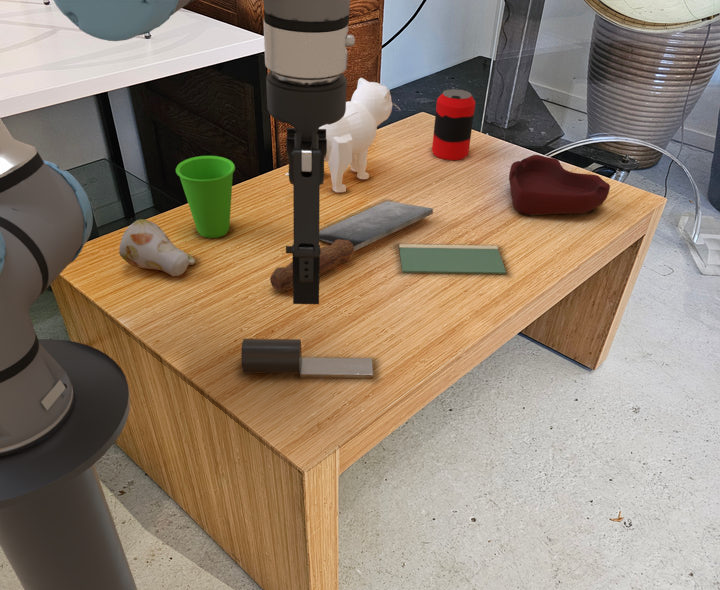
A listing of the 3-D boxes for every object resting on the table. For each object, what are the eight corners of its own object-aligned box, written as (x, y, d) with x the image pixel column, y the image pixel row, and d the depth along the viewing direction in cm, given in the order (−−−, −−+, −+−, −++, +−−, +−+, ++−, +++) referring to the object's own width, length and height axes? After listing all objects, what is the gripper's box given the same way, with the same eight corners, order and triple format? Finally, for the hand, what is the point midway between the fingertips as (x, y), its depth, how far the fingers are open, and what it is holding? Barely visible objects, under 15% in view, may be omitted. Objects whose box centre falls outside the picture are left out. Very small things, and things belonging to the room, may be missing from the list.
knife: (243, 379, 81) (240, 353, 78) (246, 357, 84) (244, 331, 81) (372, 380, 82) (374, 354, 79) (371, 359, 85) (373, 333, 82)
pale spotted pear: (178, 290, 96) (132, 235, 90) (144, 293, 102) (100, 242, 97) (209, 257, 99) (167, 203, 94) (174, 262, 106) (133, 211, 101)
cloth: (402, 273, 101) (402, 270, 100) (398, 246, 107) (399, 243, 107) (505, 274, 101) (506, 271, 101) (496, 247, 107) (497, 245, 107)
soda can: (429, 158, 134) (435, 98, 126) (433, 144, 140) (439, 86, 132) (467, 162, 133) (475, 102, 125) (469, 148, 139) (477, 89, 131)
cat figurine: (304, 209, 116) (301, 113, 105) (270, 188, 122) (264, 95, 111) (406, 172, 129) (413, 84, 118) (371, 155, 135) (375, 69, 124)
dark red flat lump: (477, 197, 121) (481, 171, 118) (533, 175, 129) (538, 150, 126) (556, 236, 111) (562, 209, 108) (611, 209, 119) (619, 183, 116)
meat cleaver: (386, 200, 119) (387, 179, 117) (434, 222, 113) (436, 201, 111) (236, 270, 101) (234, 247, 98) (285, 301, 95) (283, 277, 92)
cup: (204, 250, 104) (195, 185, 97) (175, 228, 109) (164, 165, 102) (251, 232, 109) (246, 169, 102) (221, 212, 114) (214, 150, 107)
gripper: (354, 123, 52) (343, 335, 65) (341, 37, 71) (335, 215, 84) (258, 120, 51) (267, 335, 65) (271, 34, 70) (276, 214, 84)
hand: (306, 267), depth 75 cm, fingers open, 13 cm apart
